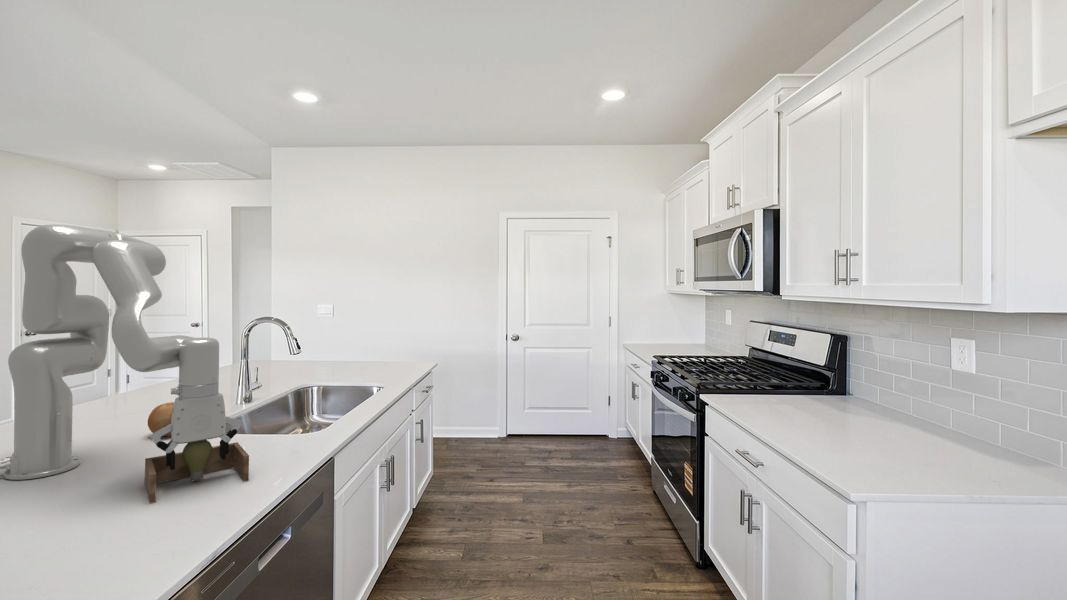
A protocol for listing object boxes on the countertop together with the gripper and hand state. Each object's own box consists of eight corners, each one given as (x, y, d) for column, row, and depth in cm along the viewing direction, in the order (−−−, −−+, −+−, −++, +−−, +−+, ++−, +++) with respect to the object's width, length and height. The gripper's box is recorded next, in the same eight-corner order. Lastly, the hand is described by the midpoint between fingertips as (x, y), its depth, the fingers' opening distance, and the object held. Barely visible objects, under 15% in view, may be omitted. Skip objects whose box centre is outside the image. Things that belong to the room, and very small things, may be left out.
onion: (185, 428, 143) (186, 397, 143) (191, 436, 136) (192, 403, 136) (145, 434, 136) (146, 401, 136) (149, 443, 129) (150, 408, 129)
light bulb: (195, 487, 102) (196, 444, 102) (175, 484, 104) (176, 441, 103) (217, 477, 108) (218, 436, 108) (198, 475, 109) (199, 434, 109)
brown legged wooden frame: (149, 503, 94) (150, 475, 94) (144, 484, 103) (145, 458, 103) (248, 480, 107) (249, 455, 107) (236, 465, 116) (237, 442, 116)
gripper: (152, 399, 97) (151, 477, 97) (245, 388, 109) (244, 458, 109) (149, 392, 102) (148, 467, 102) (238, 383, 114) (237, 450, 114)
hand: (198, 462), depth 106 cm, fingers open, 9 cm apart
